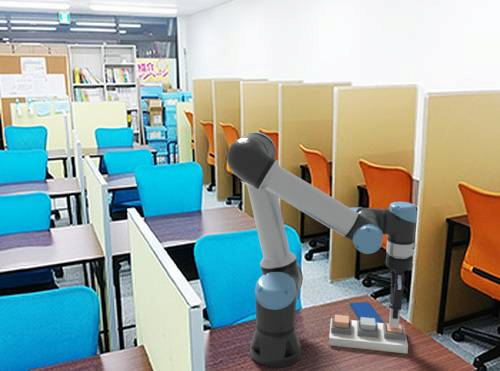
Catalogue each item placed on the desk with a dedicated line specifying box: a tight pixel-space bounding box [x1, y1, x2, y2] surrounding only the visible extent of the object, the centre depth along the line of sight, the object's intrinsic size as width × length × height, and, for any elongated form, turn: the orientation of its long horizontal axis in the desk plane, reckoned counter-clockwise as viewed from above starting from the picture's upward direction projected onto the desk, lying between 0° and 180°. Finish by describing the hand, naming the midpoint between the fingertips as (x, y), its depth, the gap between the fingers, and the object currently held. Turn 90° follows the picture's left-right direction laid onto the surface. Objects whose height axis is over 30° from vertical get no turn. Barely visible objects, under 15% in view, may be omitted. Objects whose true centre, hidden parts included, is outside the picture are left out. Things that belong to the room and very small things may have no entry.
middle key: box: [360, 317, 376, 331], centre depth 145 cm, size 4×4×2 cm
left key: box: [334, 314, 350, 328], centre depth 147 cm, size 4×4×2 cm
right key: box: [386, 322, 403, 334], centre depth 144 cm, size 4×4×2 cm
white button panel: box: [328, 317, 409, 354], centre depth 146 cm, size 23×12×4 cm, turn 78°
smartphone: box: [349, 301, 384, 323], centre depth 161 cm, size 7×1×15 cm
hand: (393, 325), depth 143 cm, fingers closed
